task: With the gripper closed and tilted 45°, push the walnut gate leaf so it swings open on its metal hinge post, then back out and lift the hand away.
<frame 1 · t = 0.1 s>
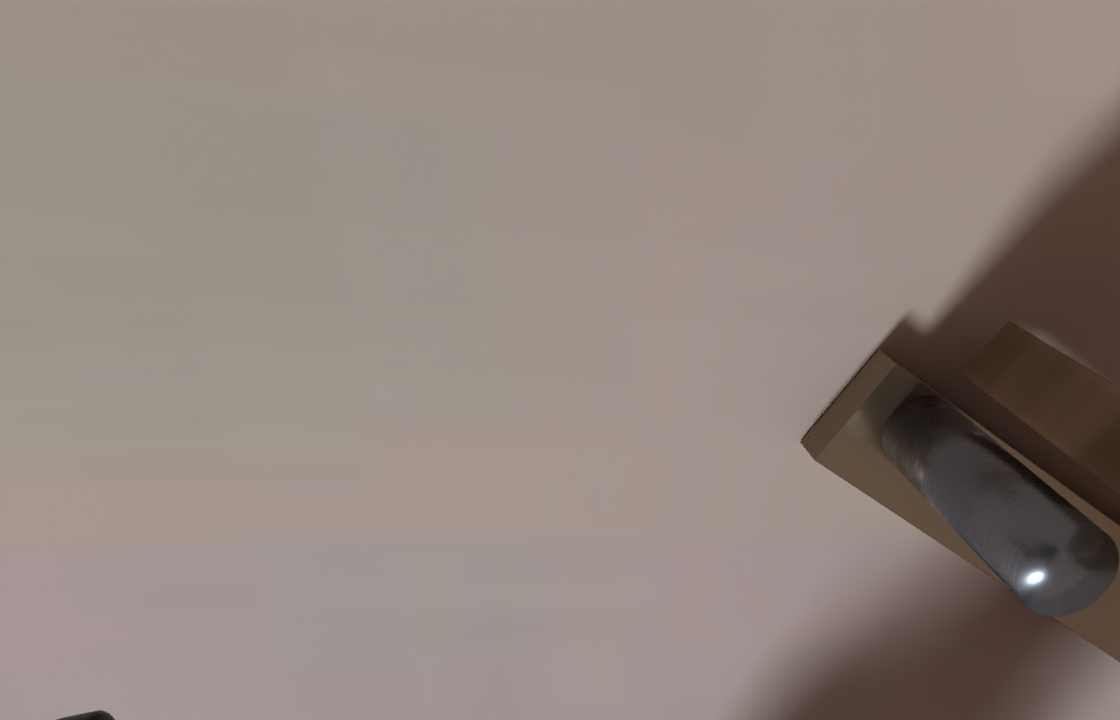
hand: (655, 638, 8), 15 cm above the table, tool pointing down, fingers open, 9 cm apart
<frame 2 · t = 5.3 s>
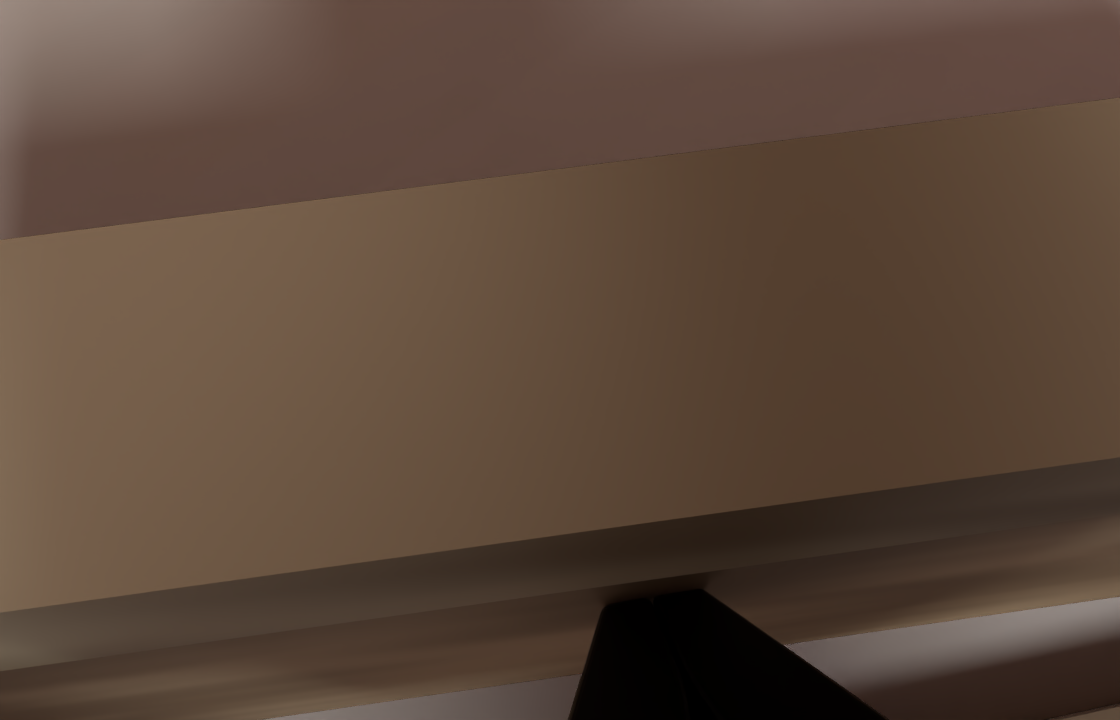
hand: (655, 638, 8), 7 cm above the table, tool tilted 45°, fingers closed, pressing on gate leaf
gate leaf: (784, 525, 9), point 6 cm above the table, hinge at 3.6°, touching gripper
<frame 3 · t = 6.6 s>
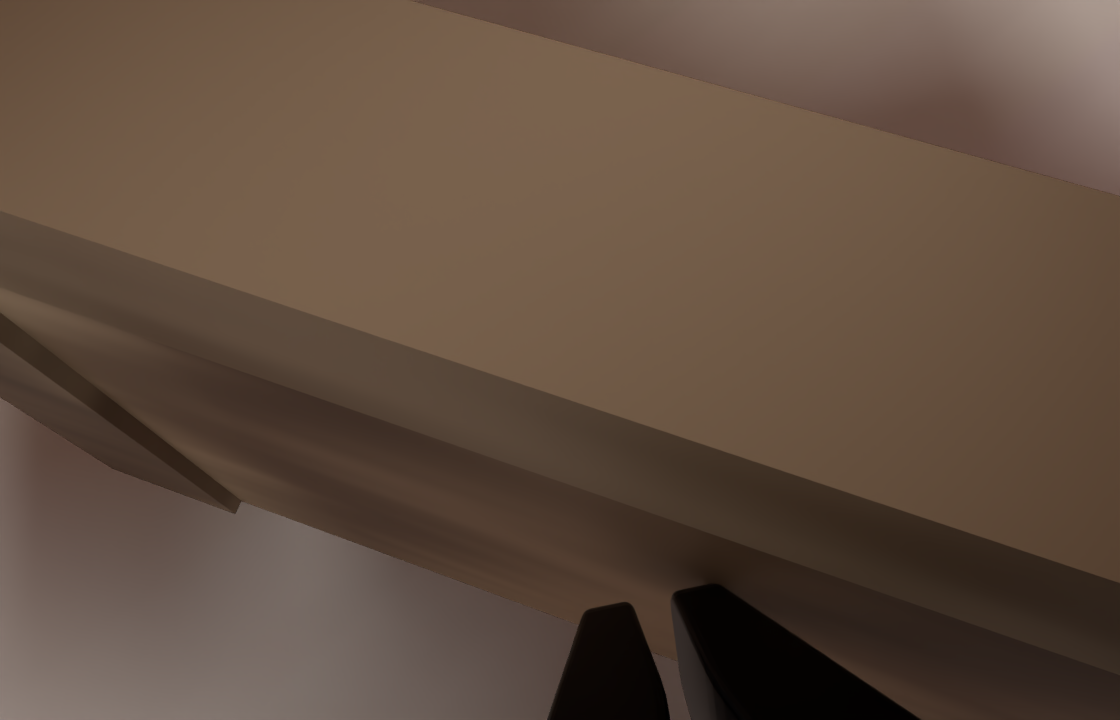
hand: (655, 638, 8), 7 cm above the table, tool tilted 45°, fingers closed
gate leaf: (1025, 639, 8), point 6 cm above the table, hinge at 31.4°, touching gripper
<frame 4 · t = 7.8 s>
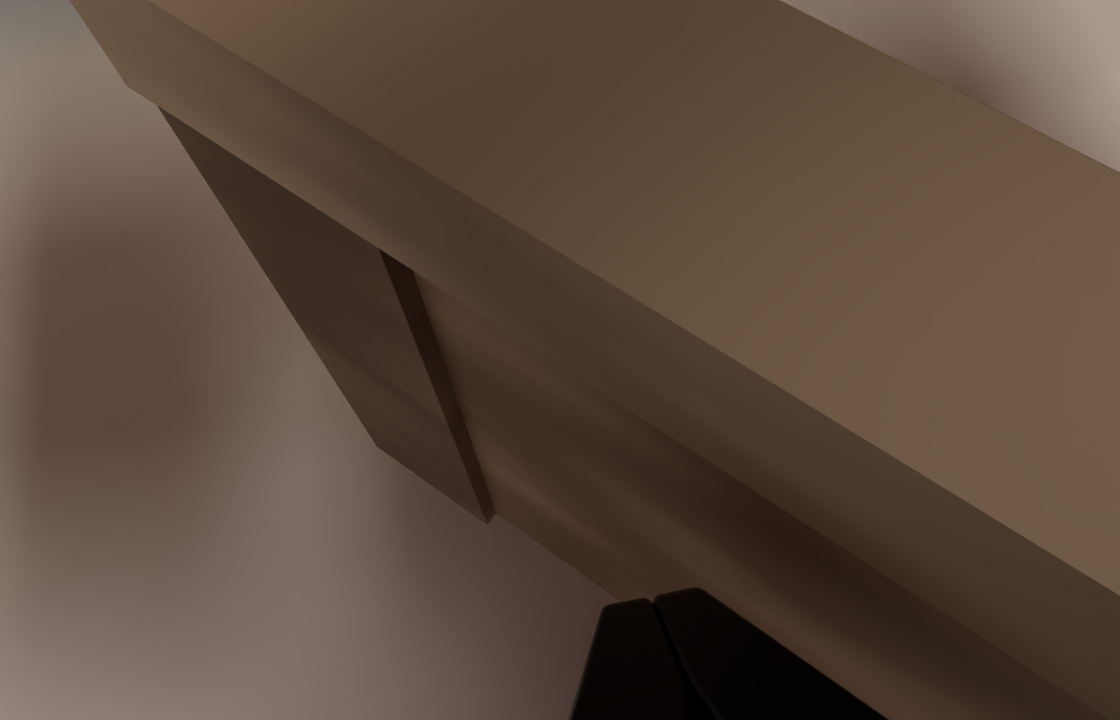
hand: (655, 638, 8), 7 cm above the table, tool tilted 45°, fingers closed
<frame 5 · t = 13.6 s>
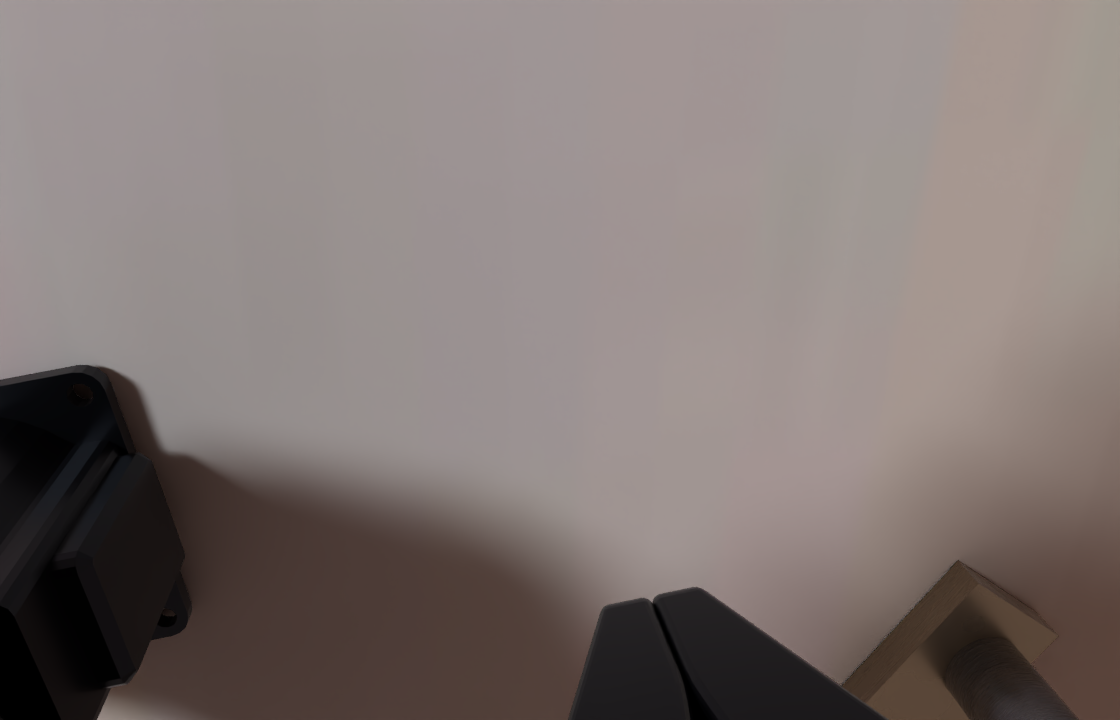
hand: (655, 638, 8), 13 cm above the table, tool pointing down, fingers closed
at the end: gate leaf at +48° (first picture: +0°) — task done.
